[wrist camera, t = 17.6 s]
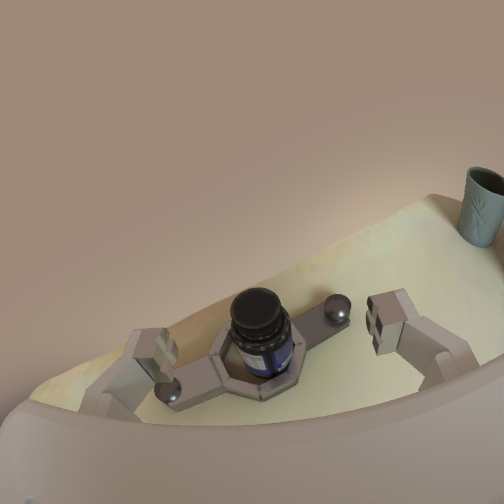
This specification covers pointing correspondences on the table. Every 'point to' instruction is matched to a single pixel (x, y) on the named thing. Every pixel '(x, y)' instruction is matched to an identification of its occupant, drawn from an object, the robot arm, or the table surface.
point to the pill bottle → (262, 332)
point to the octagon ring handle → (219, 381)
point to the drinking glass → (481, 206)
